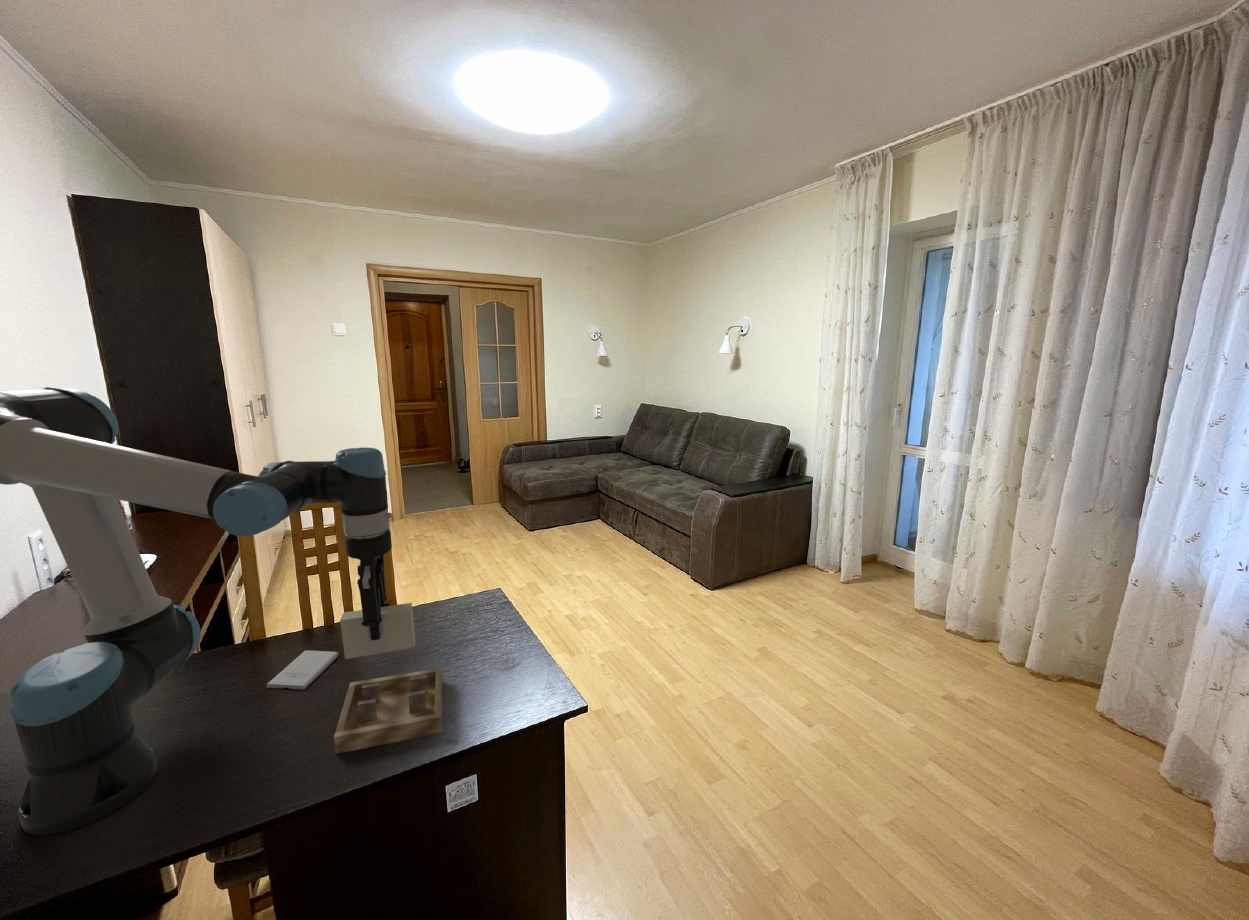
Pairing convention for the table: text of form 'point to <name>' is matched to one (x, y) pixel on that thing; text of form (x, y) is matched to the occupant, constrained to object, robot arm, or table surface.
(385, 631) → the beige rectangular block
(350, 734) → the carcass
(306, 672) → the external hard drive
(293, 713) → the table surface
